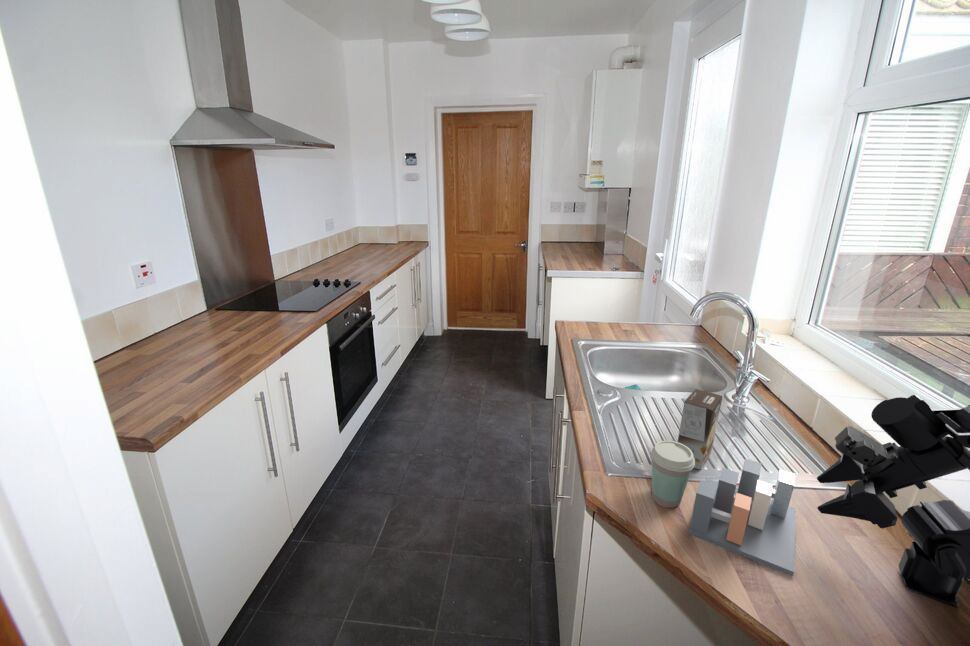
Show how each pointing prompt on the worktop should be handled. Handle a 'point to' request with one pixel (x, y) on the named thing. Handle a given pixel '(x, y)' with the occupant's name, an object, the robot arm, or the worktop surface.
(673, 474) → the coffee cup
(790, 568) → the grey slotted base
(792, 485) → the aluminium key
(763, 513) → the ivory key
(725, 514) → the terracotta key
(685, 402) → the coffee box
